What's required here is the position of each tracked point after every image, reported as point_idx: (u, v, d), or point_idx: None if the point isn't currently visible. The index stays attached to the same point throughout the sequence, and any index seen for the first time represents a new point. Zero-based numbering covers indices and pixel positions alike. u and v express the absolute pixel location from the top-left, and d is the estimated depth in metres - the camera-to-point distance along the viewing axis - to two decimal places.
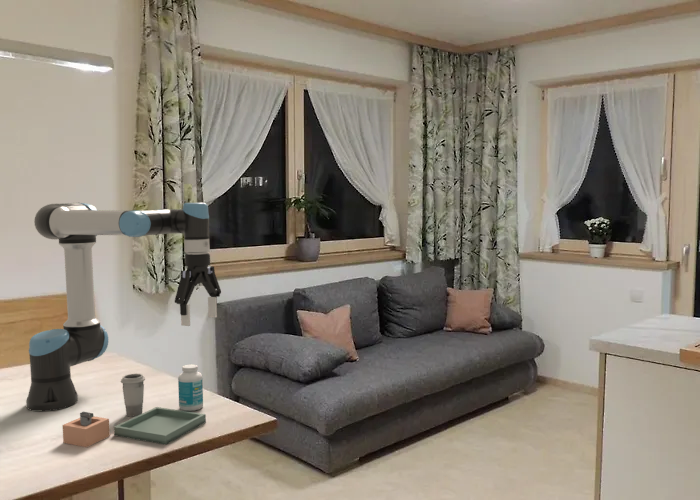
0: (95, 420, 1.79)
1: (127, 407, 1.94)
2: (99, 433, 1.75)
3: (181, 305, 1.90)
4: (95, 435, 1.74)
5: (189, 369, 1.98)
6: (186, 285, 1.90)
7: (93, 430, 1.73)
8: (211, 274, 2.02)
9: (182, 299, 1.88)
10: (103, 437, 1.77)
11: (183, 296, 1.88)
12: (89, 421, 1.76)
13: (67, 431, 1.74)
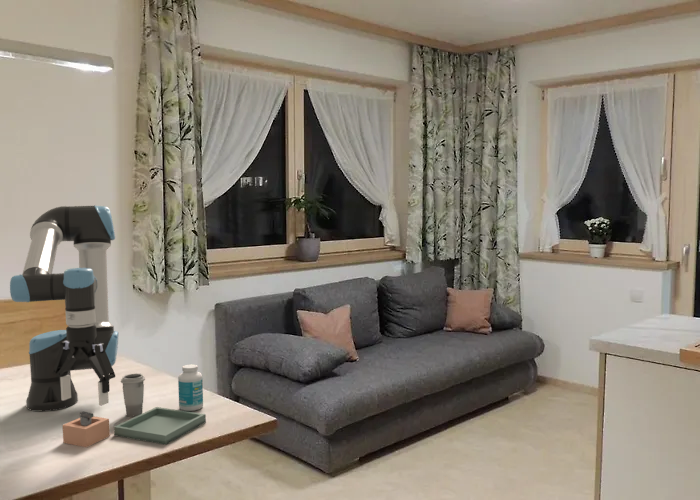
0: (95, 420, 1.79)
1: (127, 407, 1.94)
2: (99, 433, 1.75)
3: None
4: (95, 435, 1.74)
5: (189, 369, 1.98)
6: (59, 356, 1.76)
7: (93, 430, 1.73)
8: None
9: (54, 369, 1.77)
10: (103, 437, 1.77)
11: (55, 366, 1.77)
12: (89, 421, 1.76)
13: (67, 431, 1.74)
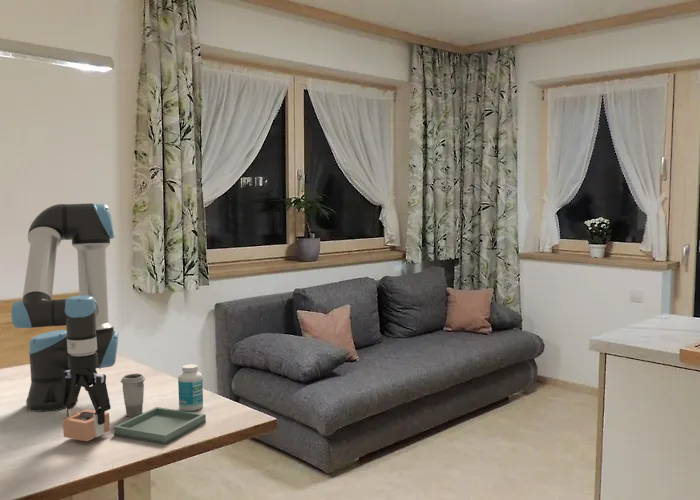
0: None
1: (127, 407, 1.94)
2: None
3: None
4: None
5: (189, 369, 1.98)
6: (63, 386, 1.77)
7: (93, 425, 1.73)
8: None
9: (61, 401, 1.78)
10: None
11: (62, 398, 1.78)
12: None
13: (67, 425, 1.74)
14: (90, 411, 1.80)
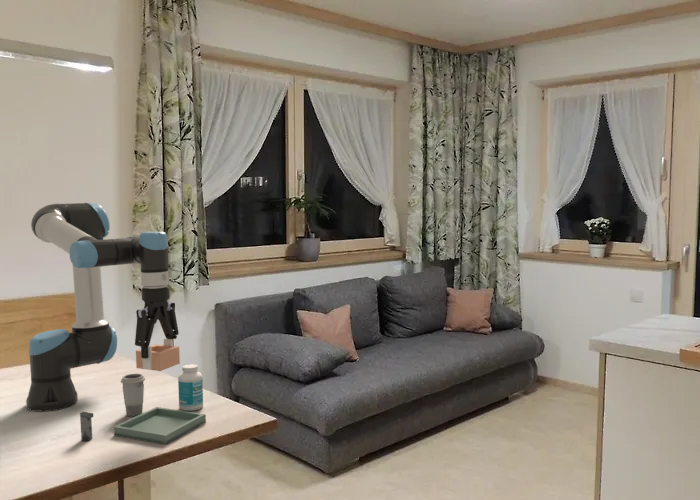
0: None
1: (127, 407, 1.94)
2: None
3: (142, 348, 1.76)
4: None
5: (189, 369, 1.98)
6: (144, 326, 1.75)
7: None
8: (170, 311, 1.86)
9: (142, 342, 1.74)
10: None
11: (143, 338, 1.75)
12: (89, 421, 1.76)
13: (164, 357, 1.78)
14: None
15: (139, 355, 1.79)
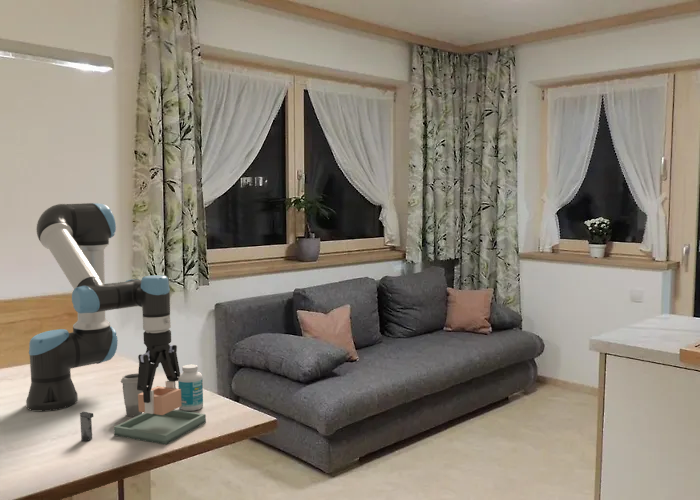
0: None
1: (127, 407, 1.94)
2: None
3: (144, 392, 1.77)
4: None
5: (189, 369, 1.98)
6: (146, 370, 1.76)
7: None
8: (172, 353, 1.87)
9: (144, 387, 1.75)
10: None
11: (145, 383, 1.76)
12: (89, 421, 1.76)
13: (166, 401, 1.79)
14: None
15: (141, 399, 1.80)
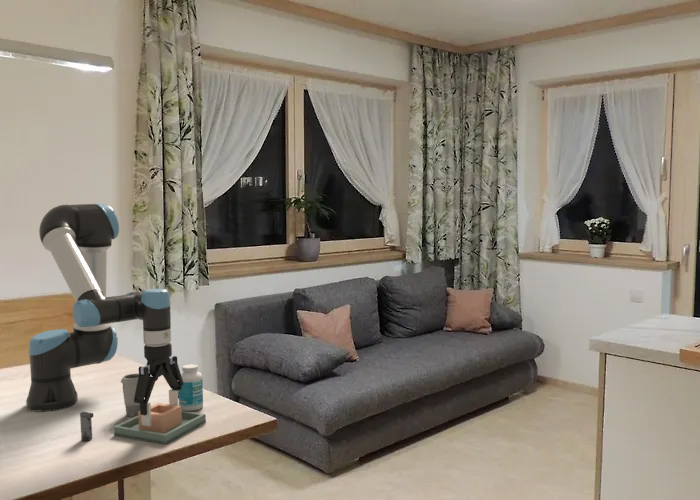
0: (154, 408, 1.85)
1: (127, 407, 1.94)
2: None
3: (141, 404, 1.76)
4: None
5: (189, 369, 1.98)
6: (145, 383, 1.76)
7: None
8: (173, 365, 1.87)
9: (141, 399, 1.75)
10: None
11: (142, 395, 1.75)
12: (89, 421, 1.76)
13: (166, 419, 1.80)
14: None
15: None
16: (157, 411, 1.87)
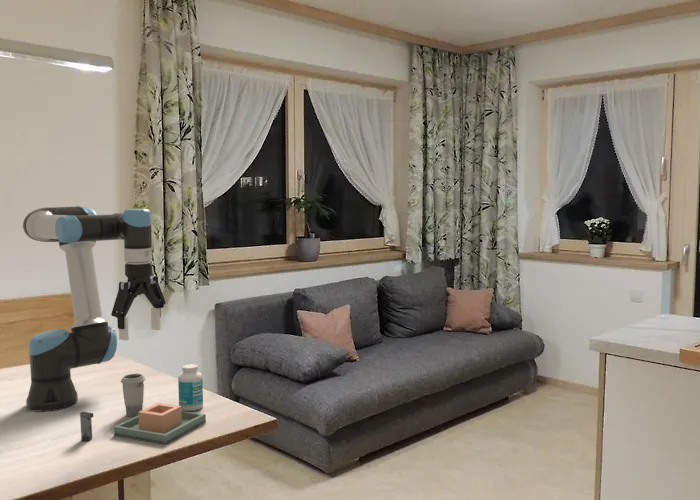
0: (154, 408, 1.85)
1: (127, 407, 1.94)
2: None
3: (118, 318, 1.78)
4: None
5: (189, 369, 1.98)
6: (124, 297, 1.78)
7: None
8: (154, 284, 1.90)
9: (119, 312, 1.77)
10: None
11: (120, 309, 1.77)
12: (89, 421, 1.76)
13: (166, 419, 1.80)
14: (147, 409, 1.83)
15: (142, 416, 1.81)
16: (157, 411, 1.87)
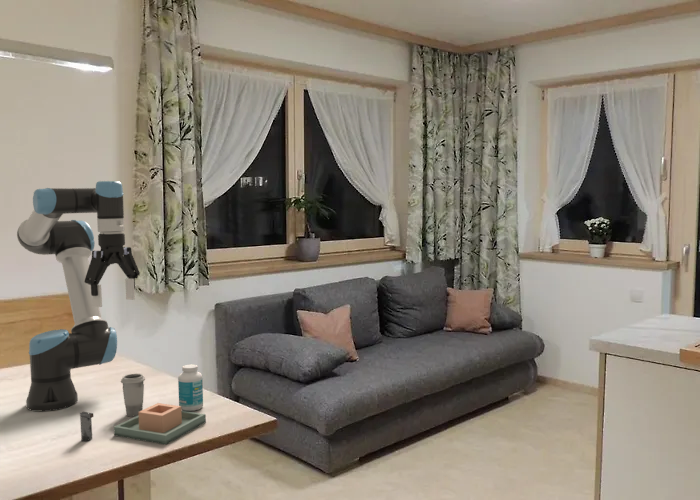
0: (154, 408, 1.85)
1: (127, 407, 1.94)
2: None
3: (92, 285, 1.85)
4: None
5: (189, 369, 1.98)
6: (97, 265, 1.85)
7: None
8: (128, 255, 1.97)
9: (92, 279, 1.83)
10: None
11: (93, 276, 1.84)
12: (89, 421, 1.76)
13: (166, 419, 1.80)
14: (147, 409, 1.83)
15: (142, 416, 1.81)
16: (157, 411, 1.87)
